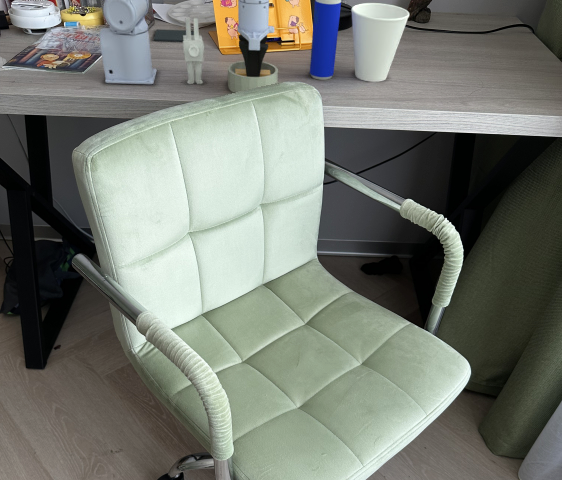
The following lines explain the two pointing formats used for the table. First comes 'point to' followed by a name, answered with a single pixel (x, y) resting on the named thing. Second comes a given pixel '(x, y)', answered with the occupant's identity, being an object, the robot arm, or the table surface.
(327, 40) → the beverage can
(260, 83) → the tin
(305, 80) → the table surface
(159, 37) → the coaster
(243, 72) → the tan wooden block
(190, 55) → the toy robot
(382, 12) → the cup
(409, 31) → the table surface
